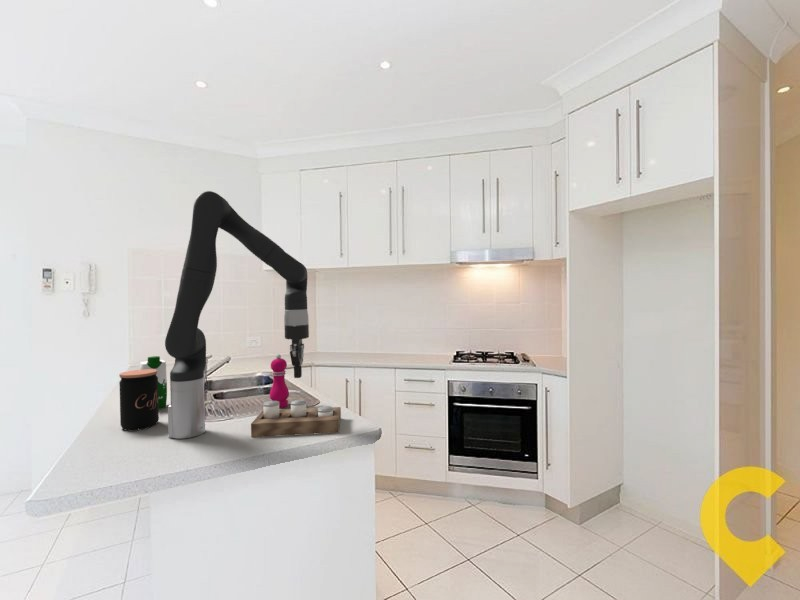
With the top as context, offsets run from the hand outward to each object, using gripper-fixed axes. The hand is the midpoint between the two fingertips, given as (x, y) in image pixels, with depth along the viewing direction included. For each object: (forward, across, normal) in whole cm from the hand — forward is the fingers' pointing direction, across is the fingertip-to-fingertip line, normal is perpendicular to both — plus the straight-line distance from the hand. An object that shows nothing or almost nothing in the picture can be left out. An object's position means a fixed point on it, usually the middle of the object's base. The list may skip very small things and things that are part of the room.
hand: (297, 377), depth 127 cm
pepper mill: (+16, -27, -12) cm, 34 cm away
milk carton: (+16, -33, -61) cm, 71 cm away
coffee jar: (+16, -10, -54) cm, 57 cm away
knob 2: (+15, 0, +8) cm, 18 cm away
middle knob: (+13, 0, 0) cm, 13 cm away
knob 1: (+13, 0, -9) cm, 15 cm away
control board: (+16, 0, 0) cm, 16 cm away
